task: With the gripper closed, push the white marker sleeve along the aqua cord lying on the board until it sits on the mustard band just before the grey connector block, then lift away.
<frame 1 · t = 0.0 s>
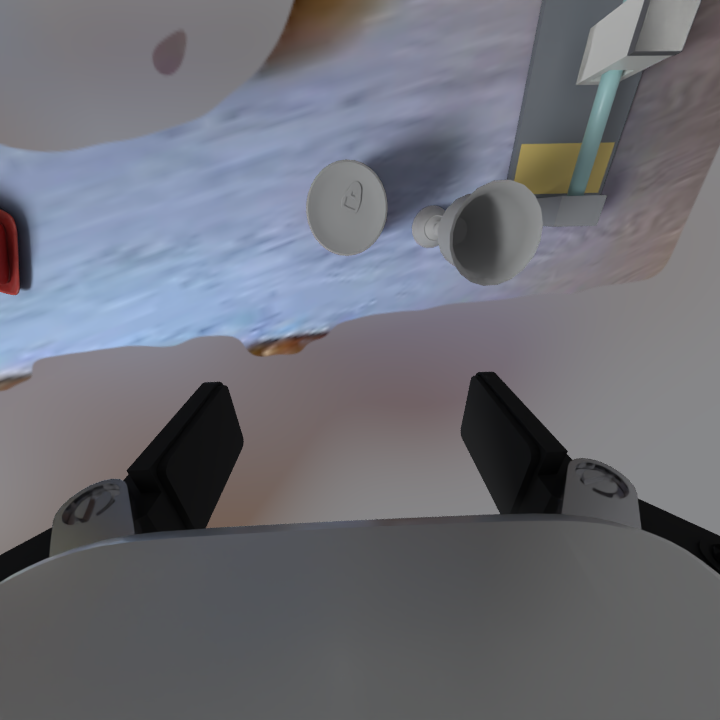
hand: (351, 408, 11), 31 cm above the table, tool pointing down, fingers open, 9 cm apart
cable rig: (576, 94, 30), on the table
canned food: (347, 212, 35), on the table
chalice: (430, 227, 36), on the table
marker sleeve: (632, 38, 24), point 6 cm above the table, slide at 0.0 cm
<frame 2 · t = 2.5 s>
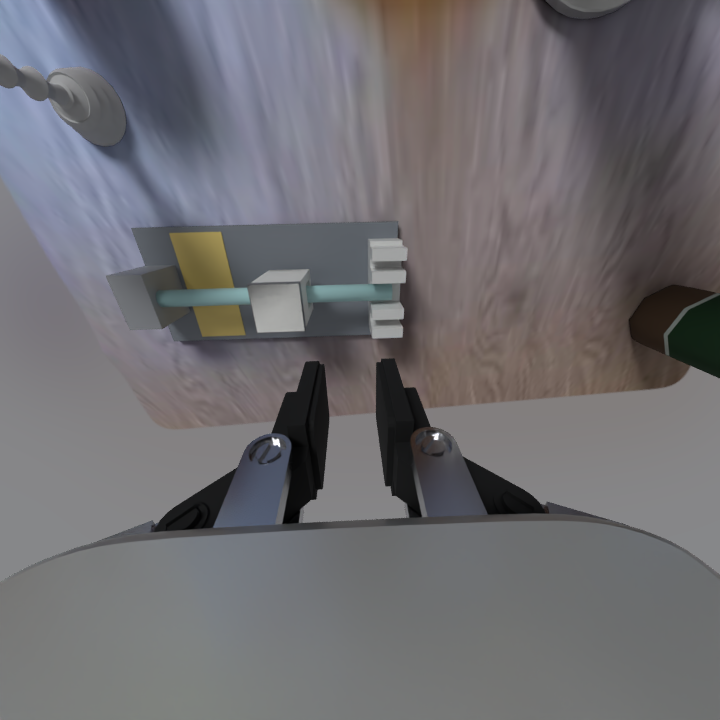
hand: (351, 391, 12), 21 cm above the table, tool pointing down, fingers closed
cable rig: (278, 284, 30), on the table
chalice: (94, 109, 23), on the table
marker sleeve: (285, 298, 25), point 6 cm above the table, slide at 0.0 cm
beer bottle: (657, 314, 34), on the table
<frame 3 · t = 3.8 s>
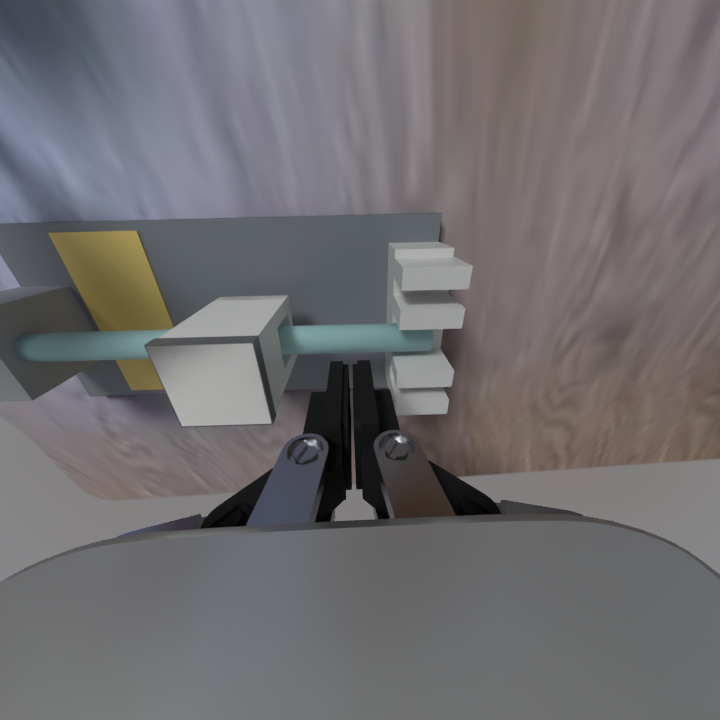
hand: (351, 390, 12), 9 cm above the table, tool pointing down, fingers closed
cable rig: (243, 314, 19), on the table
marker sleeve: (242, 351, 14), point 6 cm above the table, slide at 0.0 cm
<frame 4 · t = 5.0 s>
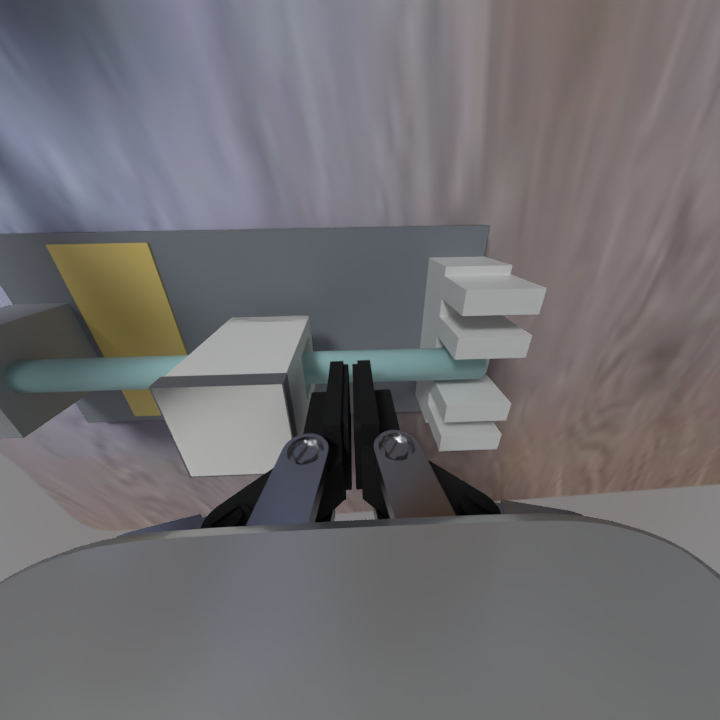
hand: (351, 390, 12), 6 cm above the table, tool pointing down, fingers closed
cable rig: (261, 334, 17), on the table
marker sleeve: (259, 383, 12), point 6 cm above the table, slide at 0.5 cm, touching gripper
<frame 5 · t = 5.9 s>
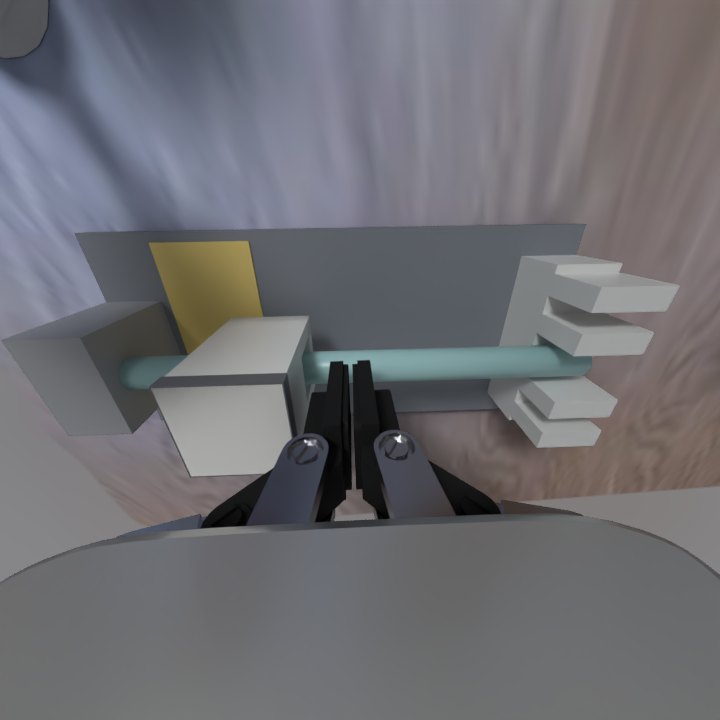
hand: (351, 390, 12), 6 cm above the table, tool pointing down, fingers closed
cable rig: (341, 332, 17), on the table
marker sleeve: (259, 383, 12), point 6 cm above the table, slide at 5.6 cm, touching gripper
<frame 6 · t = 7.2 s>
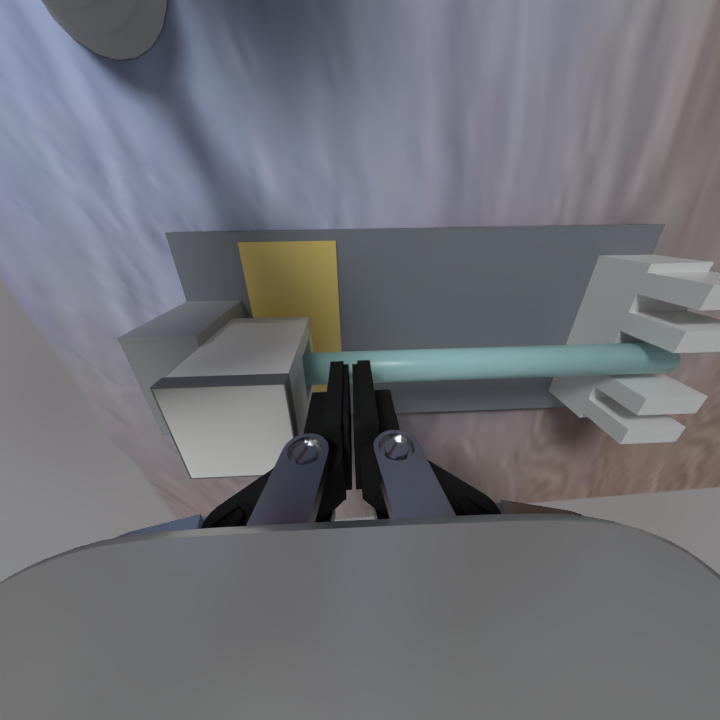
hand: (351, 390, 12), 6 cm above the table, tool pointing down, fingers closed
cable rig: (410, 331, 17), on the table
marker sleeve: (260, 384, 12), point 6 cm above the table, slide at 10.0 cm, touching cable rig, gripper
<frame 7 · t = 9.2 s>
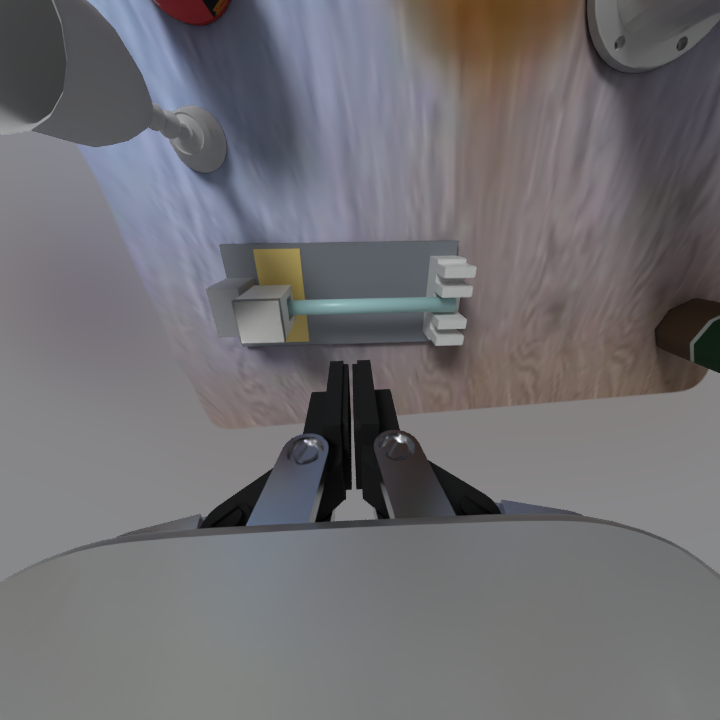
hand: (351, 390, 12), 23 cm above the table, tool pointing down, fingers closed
cable rig: (343, 295, 33), on the table
chalice: (199, 141, 26), on the table
marker sleeve: (268, 311, 28), point 6 cm above the table, slide at 9.6 cm
beer bottle: (680, 324, 37), on the table
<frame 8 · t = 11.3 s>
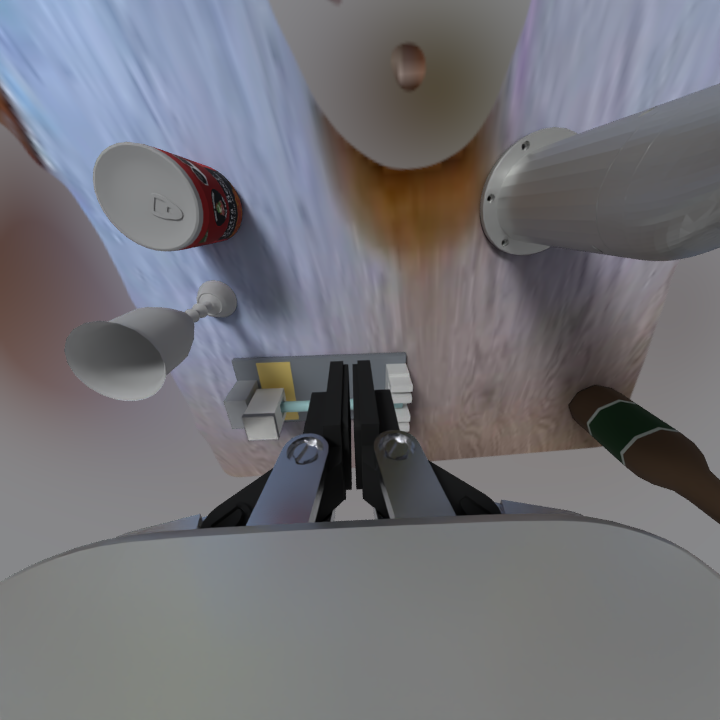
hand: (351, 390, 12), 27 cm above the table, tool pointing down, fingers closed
cable rig: (323, 388, 44), on the table
canned food: (210, 205, 32), on the table
chalice: (218, 299, 37), on the table
marker sleeve: (267, 412, 39), point 6 cm above the table, slide at 9.6 cm
beer bottle: (588, 401, 47), on the table
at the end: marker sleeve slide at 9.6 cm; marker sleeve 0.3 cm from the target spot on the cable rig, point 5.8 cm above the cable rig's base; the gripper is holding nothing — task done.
